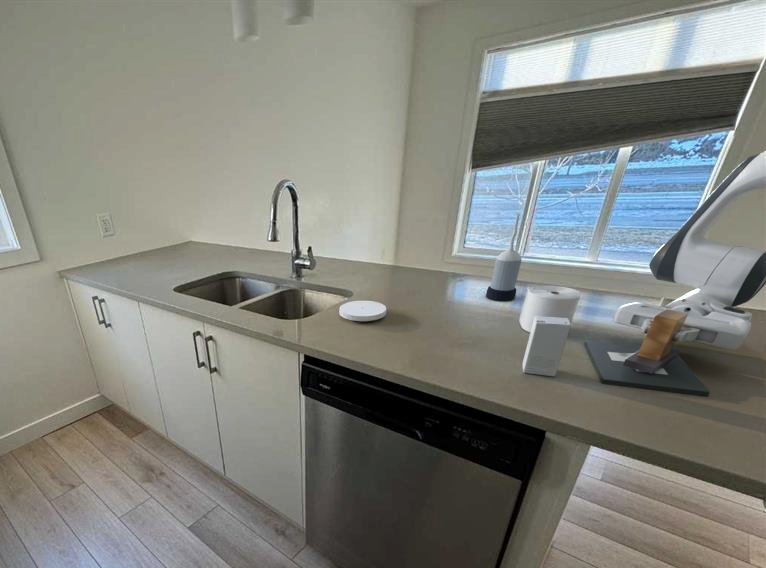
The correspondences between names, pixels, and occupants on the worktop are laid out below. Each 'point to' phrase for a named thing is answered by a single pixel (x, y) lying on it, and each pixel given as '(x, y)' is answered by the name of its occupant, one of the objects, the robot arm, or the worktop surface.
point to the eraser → (658, 343)
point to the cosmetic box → (546, 345)
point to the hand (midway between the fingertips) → (661, 334)
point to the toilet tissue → (548, 304)
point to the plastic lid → (362, 310)
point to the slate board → (667, 378)
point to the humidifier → (505, 272)
